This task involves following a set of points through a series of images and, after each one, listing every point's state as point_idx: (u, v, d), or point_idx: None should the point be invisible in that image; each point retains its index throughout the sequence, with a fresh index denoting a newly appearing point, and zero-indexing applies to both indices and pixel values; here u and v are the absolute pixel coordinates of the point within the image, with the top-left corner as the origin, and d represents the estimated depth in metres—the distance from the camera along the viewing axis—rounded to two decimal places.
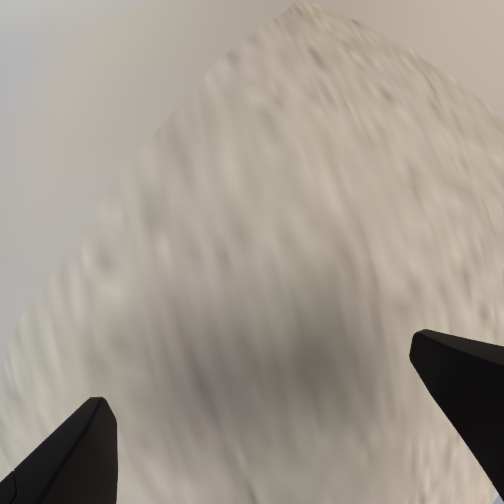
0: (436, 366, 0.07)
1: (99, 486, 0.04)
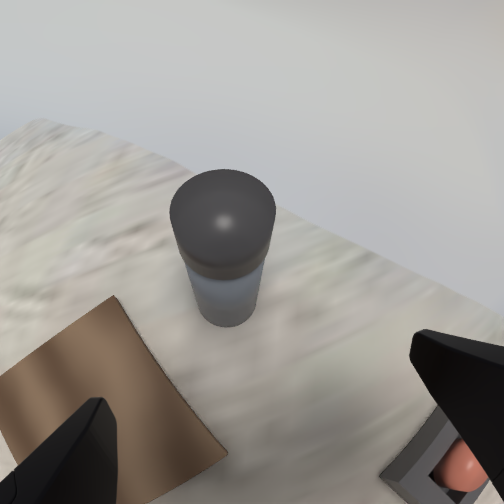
0: (436, 366, 0.07)
1: (99, 486, 0.04)
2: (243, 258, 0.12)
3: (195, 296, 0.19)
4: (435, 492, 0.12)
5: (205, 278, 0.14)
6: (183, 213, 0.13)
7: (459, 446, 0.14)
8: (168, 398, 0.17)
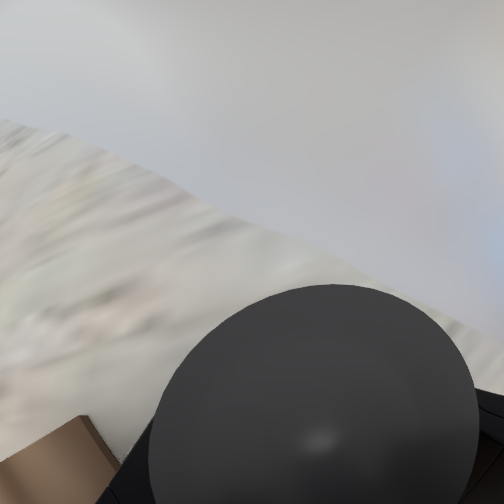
0: None
1: None
2: None
3: None
4: None
5: None
6: (206, 493, 0.02)
7: None
8: None
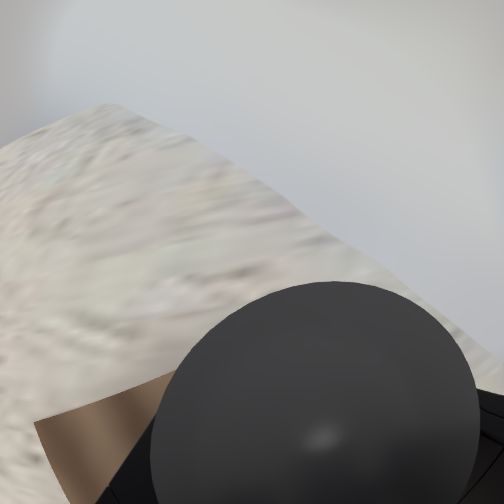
0: None
1: None
2: None
3: None
4: None
5: None
6: (209, 490, 0.03)
7: None
8: None
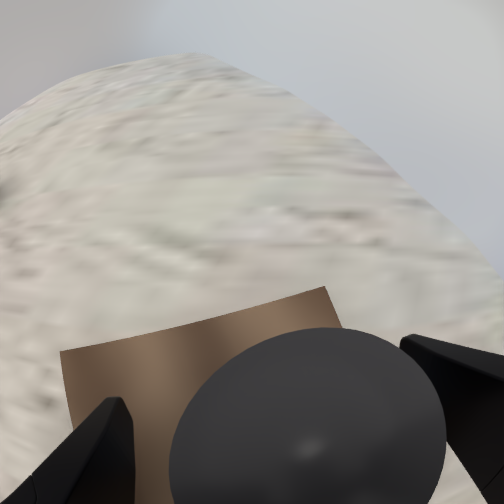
0: None
1: (118, 487, 0.04)
2: None
3: None
4: None
5: None
6: (215, 496, 0.03)
7: None
8: None
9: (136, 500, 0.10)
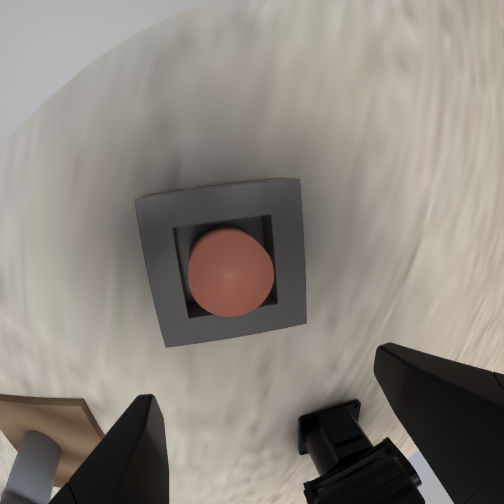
0: (398, 384, 0.06)
1: (156, 488, 0.05)
2: None
3: None
4: (221, 320, 0.17)
5: None
6: None
7: (188, 269, 0.16)
8: (38, 410, 0.19)
9: None
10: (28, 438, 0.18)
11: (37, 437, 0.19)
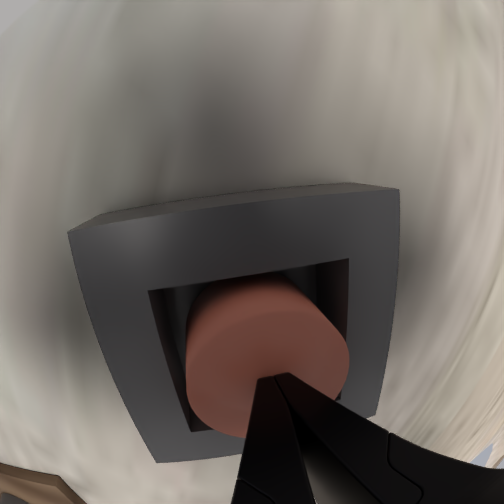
0: None
1: None
2: None
3: None
4: None
5: None
6: None
7: None
8: (8, 479, 0.10)
9: None
10: (4, 503, 0.10)
11: (14, 503, 0.10)
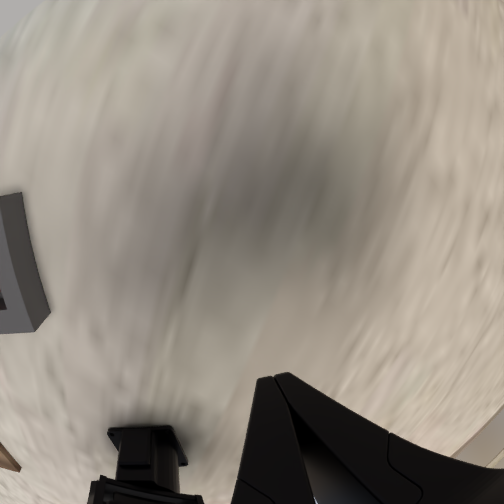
0: None
1: None
2: None
3: None
4: None
5: None
6: None
7: None
8: None
9: None
10: None
11: None
